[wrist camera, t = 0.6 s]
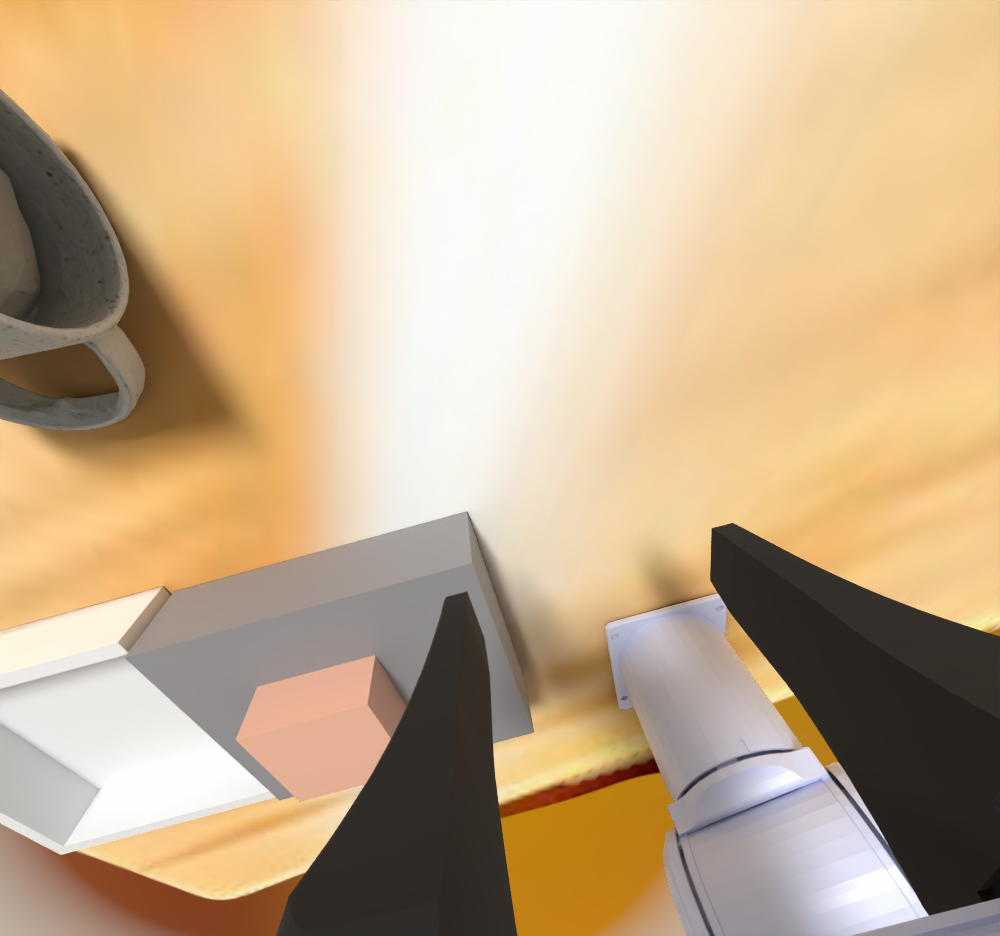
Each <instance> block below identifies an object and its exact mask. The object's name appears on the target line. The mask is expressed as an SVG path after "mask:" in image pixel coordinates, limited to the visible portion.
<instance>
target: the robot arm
mask: <svg viewBox="0 0 1000 936" xmlns="http://www.w3.org/2000/svg"><path fill="white" fill-rule="evenodd" d="M710 580H711V582H712V584H713V586H714V587H715V589H716V591H717V592H718V593H717V594H713V595H709V596H705V597H702V598H698V599H694V600H691V601H687V602H683V603H679V604H676V605H672V606H668V607H665V608H661V609H657V610H653V611H650V612H646V613H642V614H639V615H635V616H631V617H627V618H624V619H620V620H616V621H613V622H610V623H608V624H607V625H606V626H605V633H606V639H607V645H608V651H609V656H610V662H611V668H612V674H613V679H614V685H615V691H616V697H617V702H618V705H619V708H620V709H623V710H625V709H629V708H633V707H634V709H635V712H636V714H637V717H638V719H639V721H640V724H641V726H642V729H643V731H644V734H645V736H646V739H647V741H648V744H649V746H650V748H651V751H652V753H653V756H654V758H655V761H656V763H657V766H658V768H659V770H660V773H661V775H662V778H663V780H664V783H665V785H666V787H667V789H668V791H669V793H670V795H671V797H672V799H673V801H674V803H672V804H670V805H668V810H669V812H670V815H671V817H672V820H673V822H674V825H675V827H676V828H674V829H671V830H669V831H668V832H667V833H666V836H665V847H664V853H663V860H664V867H665V871H666V875H667V880H668V883H669V887H670V890H671V894H672V897H673V900H674V903H675V906H676V909H677V912H678V914H679V917H680V920H681V922H682V925H683V928H684V930H685V933H686V935H687V936H1000V636H996V635H993V634H990V633H987V632H983V631H980V630H977V629H974V628H971V627H968V626H965V625H962V624H959V623H956V622H953V621H950V620H947V619H944V618H941V617H938V616H935V615H932V614H929V613H927V612H924V611H921V610H918V609H915V608H913V607H910V606H908V605H905V604H903V603H900V602H897V601H895V600H892V599H890V598H887V597H885V596H882V595H880V594H877V593H875V592H872V591H870V590H868V589H865V588H863V587H861V586H858V585H856V584H854V583H852V582H849V581H847V580H845V579H843V578H841V577H838V576H836V575H834V574H832V573H830V572H828V571H826V570H823V569H821V568H819V567H817V566H815V565H813V564H811V563H809V562H807V561H805V560H803V559H801V558H799V557H797V556H795V555H793V554H791V553H789V552H787V551H785V550H783V549H782V548H780V547H778V546H776V545H774V544H772V543H770V542H768V541H766V540H764V539H762V538H761V537H759V536H757V535H755V534H753V533H751V532H749V531H747V530H745V529H743V528H742V527H740V526H738V525H736V524H734V523H731V524H727V525H723V526H719V527H715V528H712V538H711V574H710ZM727 608H728V610H729V612H730V613H731V614H732V616H733V617H734V618H735V619H736V621H737V622H738V623H739V625H740V626H741V627H742V628H743V630H744V631H745V632H746V634H747V635H748V636H749V637H750V639H751V640H752V641H753V642H754V644H755V645H756V646H757V647H758V649H759V650H760V651H761V652H762V654H763V655H764V656H765V657H766V659H767V660H768V661H769V662H770V664H771V665H772V666H773V667H774V669H775V670H776V671H777V672H778V674H779V675H780V676H781V677H782V679H783V680H784V681H785V682H786V684H787V685H788V686H789V688H790V689H791V690H792V692H793V693H794V695H795V696H796V697H797V699H798V700H799V701H800V703H801V704H802V706H803V707H804V709H805V710H806V712H807V713H808V715H809V717H810V718H811V720H812V721H813V722H814V724H815V726H816V727H817V729H818V730H819V732H820V733H821V734H822V736H823V738H824V739H825V741H826V743H827V744H828V746H829V747H830V749H831V750H832V752H833V754H834V755H835V757H836V758H837V760H838V762H839V763H840V764H838V763H836V762H833V763H831V764H829V765H827V766H825V769H826V770H825V769H824V767H823V766H822V765H821V763H820V762H819V760H818V759H817V758H816V756H815V755H814V753H813V752H812V751H811V749H810V748H809V747H804V748H803V746H802V745H801V744H800V742H799V741H798V739H797V738H796V736H795V735H794V734H793V732H792V731H791V729H790V728H789V727H788V725H787V724H786V722H785V721H784V720H783V718H782V717H781V715H780V714H779V713H778V711H777V710H776V708H775V707H774V706H773V704H772V703H771V701H770V700H769V698H768V697H767V696H766V694H765V693H764V691H763V690H762V689H761V687H760V686H759V684H758V683H757V682H756V680H755V679H754V677H753V676H752V675H751V673H750V672H749V670H748V669H747V667H746V666H745V665H744V663H743V662H742V660H741V659H740V658H739V656H738V655H737V653H736V652H735V651H734V649H733V648H732V646H731V645H730V644H729V642H728V641H727V639H726V638H725V635H726V611H727ZM277 936H517V931H516V925H515V918H514V911H513V905H512V898H511V891H510V884H509V877H508V870H507V863H506V856H505V849H504V842H503V834H502V827H501V819H500V811H499V804H498V796H497V788H496V780H495V769H494V756H493V733H492V709H491V688H490V672H489V665H488V658H487V651H486V645H485V638H484V635H483V633H482V630H481V627H480V625H479V622H478V619H477V616H476V614H475V611H474V608H473V606H472V603H471V600H470V597H469V595H468V592H463V593H459V594H455V595H451V596H447V597H446V598H445V600H444V603H443V607H442V611H441V615H440V618H439V622H438V625H437V628H436V631H435V635H434V638H433V641H432V644H431V647H430V649H429V652H428V655H427V658H426V661H425V663H424V666H423V669H422V671H421V674H420V676H419V679H418V681H417V683H416V686H415V688H414V691H413V693H412V695H411V698H410V700H409V702H408V705H407V707H406V709H405V711H404V713H403V715H402V718H401V720H400V722H399V724H398V726H397V728H396V730H395V732H394V734H393V736H392V738H391V740H390V741H389V743H388V745H387V747H386V749H385V751H384V752H383V754H382V756H381V758H380V760H379V761H378V763H377V765H376V767H375V769H374V770H373V772H372V774H371V776H370V777H369V779H368V781H367V782H366V784H365V786H364V787H363V789H362V790H361V792H360V794H359V795H358V797H357V798H356V800H355V801H354V803H353V805H352V806H351V808H350V809H349V811H348V812H347V814H346V816H345V817H344V819H343V820H342V822H341V823H340V825H339V826H338V828H337V830H336V831H335V832H334V834H333V835H332V837H331V838H330V840H329V841H328V843H327V844H326V845H325V847H324V848H323V850H322V851H321V852H320V854H319V855H318V857H317V858H316V859H315V861H314V862H313V863H312V865H311V866H310V868H309V869H308V870H307V872H306V873H305V875H304V876H303V877H302V879H301V880H300V882H299V883H298V884H297V886H296V887H295V888H294V890H293V891H292V893H291V894H290V895H289V897H288V901H287V904H286V907H285V911H284V914H283V917H282V919H281V922H280V926H279V929H278V932H277Z"/></svg>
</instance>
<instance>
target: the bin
mask: <svg viewBox="0 0 1000 936" xmlns="http://www.w3.org/2000/svg"><path fill="white" fill-rule="evenodd" d="M170 596H171V595H170V594H169V593H168V592H167V591H166V590H165V589H164V587H163V586H162V587H159V588H155V589H151V590H148V591H144V592H140V593H137V594H133V595H129V596H126V597H122V598H118V599H115V600H111V601H107V602H104V603H100V604H96V605H93V606H89V607H86V608H82V609H78V610H75V611H71V612H67V613H64V614H60V615H56V616H53V617H49V618H45V619H42V620H38V621H34V622H31V623H27V624H23V625H20V626H16V627H12V628H9V629H5V630H1V631H0V823H1V824H3V825H5V826H7V827H9V828H10V829H12V830H14V831H16V832H18V833H20V834H22V835H24V836H26V837H28V838H30V839H32V840H33V841H36V842H37V843H39V844H41V845H43V846H45V847H47V848H49V849H51V850H53V851H55V852H56V853H58V854H60V855H62V854H66V853H69V852H73V851H77V850H81V849H84V848H88V847H92V846H96V845H99V844H103V843H107V842H111V841H114V840H118V839H122V838H126V837H129V836H133V835H137V834H141V833H144V832H148V831H152V830H156V829H159V828H163V827H167V826H171V825H174V824H178V823H182V822H186V821H189V820H193V819H197V818H201V817H204V816H208V815H212V814H216V813H219V812H223V811H227V810H230V809H234V808H238V807H242V806H245V805H249V804H253V803H257V802H260V801H264V800H268V799H272V798H275V796H274V795H273V794H272V793H271V792H270V791H269V790H268V789H267V788H265V787H264V786H263V785H262V784H261V783H260V782H259V781H258V780H257V779H256V778H255V777H253V776H252V775H251V774H250V773H249V772H248V771H247V770H246V769H245V768H244V767H243V766H242V765H240V764H239V763H238V762H237V761H236V760H235V759H234V758H233V757H232V756H231V755H230V754H228V753H227V752H226V751H225V750H224V749H223V748H222V747H221V746H220V745H219V744H218V743H217V742H215V741H214V740H213V739H212V738H211V737H210V736H209V735H208V734H207V733H206V732H205V731H203V730H202V729H201V728H200V727H199V726H198V725H197V724H196V723H195V722H194V721H193V720H192V719H190V718H189V717H188V716H187V715H186V714H185V713H184V712H183V711H182V710H181V709H180V708H178V707H177V706H176V705H175V704H174V703H173V702H172V701H171V700H170V699H169V698H168V697H166V696H165V695H164V694H163V693H162V692H161V691H160V690H159V689H158V688H157V687H156V686H155V685H153V684H152V683H151V682H150V681H149V680H148V679H147V678H146V677H145V676H144V675H143V674H141V673H140V672H139V671H138V670H137V669H136V668H135V667H134V666H133V665H132V664H131V663H130V662H128V661H127V660H126V659H125V658H124V657H125V656H126V654H127V653H128V652H129V650H130V649H131V648H132V646H133V645H134V644H135V643H136V641H137V640H138V639H139V637H140V636H141V635H142V633H143V632H144V631H145V629H146V628H147V627H148V625H149V624H150V623H151V621H152V620H153V619H154V617H155V616H156V615H157V613H158V612H159V611H160V610H161V608H162V607H163V606H164V604H165V603H166V602H167V600H168V599H169V598H170Z"/></svg>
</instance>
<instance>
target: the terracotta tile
mask: <svg viewBox="0 0 1000 936" xmlns="http://www.w3.org/2000/svg"><path fill="white" fill-rule="evenodd" d="M406 707H407V706H406V704H405V703H404V701H403V700H402V698H401V696H400V695H399V693H398V691H397V690H396V688H395V686H394V685H393V683H392V682H391V680H390V678H389V677H388V675H387V673H386V672H385V670H384V669H383V667H382V665H381V664H380V662H379V660H378V659H377V657H376V655H374V656H370V657H366V658H363V659H359V660H355V661H351V662H348V663H344V664H340V665H337V666H333V667H329V668H325V669H322V670H318V671H314V672H311V673H307V674H303V675H300V676H296V677H292V678H288V679H285V680H281V681H277V682H274V683H270V684H266V685H263V686H259V687H257V689H256V691H255V694H254V696H253V699H252V701H251V703H250V706H249V708H248V711H247V713H246V716H245V718H244V721H243V723H242V725H241V728H240V730H239V733H238V735H237V738H236V741H237V742H238V743H239V744H240V745H241V746H242V747H243V748H244V749H245V750H246V751H247V752H249V753H250V754H251V755H252V756H253V757H254V758H255V759H256V760H257V761H258V762H259V763H260V764H261V765H262V766H263V767H264V768H265V769H266V770H267V771H268V772H269V773H270V774H271V775H272V776H273V777H275V778H276V779H277V780H278V781H279V782H280V783H281V784H282V785H283V786H284V787H285V788H286V789H287V790H288V791H289V792H290V793H291V794H292V795H293V796H294V797H295V798H296V799H297V800H298V801H299V802H301V801H305V800H308V799H312V798H316V797H320V796H323V795H327V794H331V793H335V792H338V791H342V790H346V789H350V788H353V787H357V786H361V785H365V784H366V782H367V781H368V779H369V777H370V776H371V774H372V772H373V770H374V769H375V767H376V765H377V763H378V761H379V760H380V758H381V756H382V754H383V752H384V751H385V749H386V747H387V745H388V743H389V741H390V740H391V738H392V736H393V734H394V732H395V730H396V728H397V726H398V724H399V722H400V720H401V718H402V715H403V713H404V711H405V709H406Z"/></svg>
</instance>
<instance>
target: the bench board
mask: <svg viewBox="0 0 1000 936" xmlns="http://www.w3.org/2000/svg"><path fill="white" fill-rule="evenodd" d="M463 592H468V595H469V597H470V600H471V603H472V606H473V608H474V611H475V614H476V616H477V619H478V622H479V625H480V627H481V630H482V633H483V635H484V638H485V645H486V651H487V658H488V665H489V672H490V688H491V709H492V733H493V743H496V742H500V741H504V740H507V739H511V738H515V737H519V736H522V735H526V734H530V733H534V729H533V724H532V718H531V713H530V708H529V702H528V697H527V692H526V686H525V681H524V676H523V671H522V668H521V666H520V663H519V660H518V657H517V654H516V651H515V648H514V645H513V643H512V640H511V637H510V634H509V631H508V628H507V625H506V622H505V619H504V617H503V614H502V611H501V608H500V605H499V602H498V599H497V596H496V594H495V591H494V588H493V585H492V582H491V579H490V576H489V573H488V570H487V568H486V565H485V562H484V559H483V556H482V553H481V550H480V547H479V544H478V542H477V539H476V536H475V533H474V530H473V527H472V524H471V521H470V519H469V516H468V513H467V512H464V513H460V514H456V515H453V516H449V517H445V518H442V519H438V520H434V521H431V522H427V523H423V524H420V525H416V526H412V527H409V528H405V529H401V530H398V531H394V532H390V533H387V534H383V535H380V536H376V537H372V538H369V539H365V540H361V541H358V542H354V543H350V544H347V545H343V546H339V547H336V548H332V549H328V550H325V551H321V552H317V553H314V554H310V555H306V556H303V557H299V558H295V559H292V560H288V561H284V562H281V563H277V564H273V565H270V566H266V567H262V568H259V569H255V570H251V571H248V572H244V573H240V574H237V575H233V576H229V577H226V578H222V579H218V580H215V581H211V582H207V583H204V584H200V585H196V586H193V587H189V588H185V589H182V590H178V591H174V592H173V594H172V595H171V596H170V598H169V599H168V600H167V602H166V603H165V604H164V606H163V607H162V608H161V610H160V611H159V612H158V613H157V615H156V616H155V617H154V619H153V620H152V621H151V623H150V624H149V625H148V627H147V628H146V629H145V631H144V632H143V633H142V635H141V636H140V637H139V639H138V640H137V641H136V643H135V644H134V645H133V646H132V648H131V649H130V650H129V652H128V653H127V654H126V656H125V657H124V658H125V659H126V660H127V661H128V662H130V663H131V664H132V665H133V666H134V667H135V668H136V669H137V670H138V671H139V672H140V673H141V674H143V675H144V676H145V677H146V678H147V679H148V680H149V681H150V682H151V683H152V684H153V685H155V686H156V687H157V688H158V689H159V690H160V691H161V692H162V693H163V694H164V695H165V696H166V697H168V698H169V699H170V700H171V701H172V702H173V703H174V704H175V705H176V706H177V707H178V708H180V709H181V710H182V711H183V712H184V713H185V714H186V715H187V716H188V717H189V718H190V719H192V720H193V721H194V722H195V723H196V724H197V725H198V726H199V727H200V728H201V729H202V730H203V731H205V732H206V733H207V734H208V735H209V736H210V737H211V738H212V739H213V740H214V741H215V742H217V743H218V744H219V745H220V746H221V747H222V748H223V749H224V750H225V751H226V752H227V753H228V754H230V755H231V756H232V757H233V758H234V759H235V760H236V761H237V762H238V763H239V764H240V765H242V766H243V767H244V768H245V769H246V770H247V771H248V772H249V773H250V774H251V775H252V776H253V777H255V778H256V779H257V780H258V781H259V782H260V783H261V784H262V785H263V786H264V787H265V788H267V789H268V790H269V791H270V792H271V793H272V794H273V795H274V796H275V797H276V798H277V799H279V800H283V799H286V798H290V797H294V796H293V795H292V794H291V793H290V792H289V791H288V790H287V789H286V788H285V787H284V786H283V785H282V784H281V783H280V782H279V781H278V780H277V779H276V778H275V777H273V776H272V775H271V774H270V773H269V772H268V771H267V770H266V769H265V768H264V767H263V766H262V765H261V764H260V763H259V762H258V761H257V760H256V759H255V758H254V757H253V756H252V755H251V754H250V753H249V752H247V751H246V750H245V749H244V748H243V747H242V746H241V745H240V744H239V743H238V742H237V741H236V738H237V735H238V733H239V730H240V728H241V725H242V723H243V721H244V718H245V716H246V713H247V711H248V708H249V706H250V703H251V701H252V699H253V696H254V694H255V691H256V689H257V687H259V686H263V685H266V684H270V683H274V682H277V681H281V680H285V679H288V678H292V677H296V676H300V675H303V674H307V673H311V672H314V671H318V670H322V669H325V668H329V667H333V666H337V665H340V664H344V663H348V662H351V661H355V660H359V659H363V658H366V657H370V656H374V655H376V657H377V659H378V660H379V662H380V664H381V665H382V667H383V669H384V670H385V672H386V673H387V675H388V677H389V678H390V680H391V682H392V683H393V685H394V686H395V688H396V690H397V691H398V693H399V695H400V696H401V698H402V700H403V701H404V703H405V704H406V706H407V705H408V702H409V700H410V698H411V695H412V693H413V691H414V688H415V686H416V683H417V681H418V679H419V676H420V674H421V671H422V669H423V666H424V663H425V661H426V658H427V655H428V652H429V649H430V647H431V644H432V641H433V638H434V635H435V631H436V628H437V625H438V622H439V618H440V615H441V611H442V607H443V603H444V600H445V598H446V597H447V596H451V595H455V594H459V593H463Z"/></svg>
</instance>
